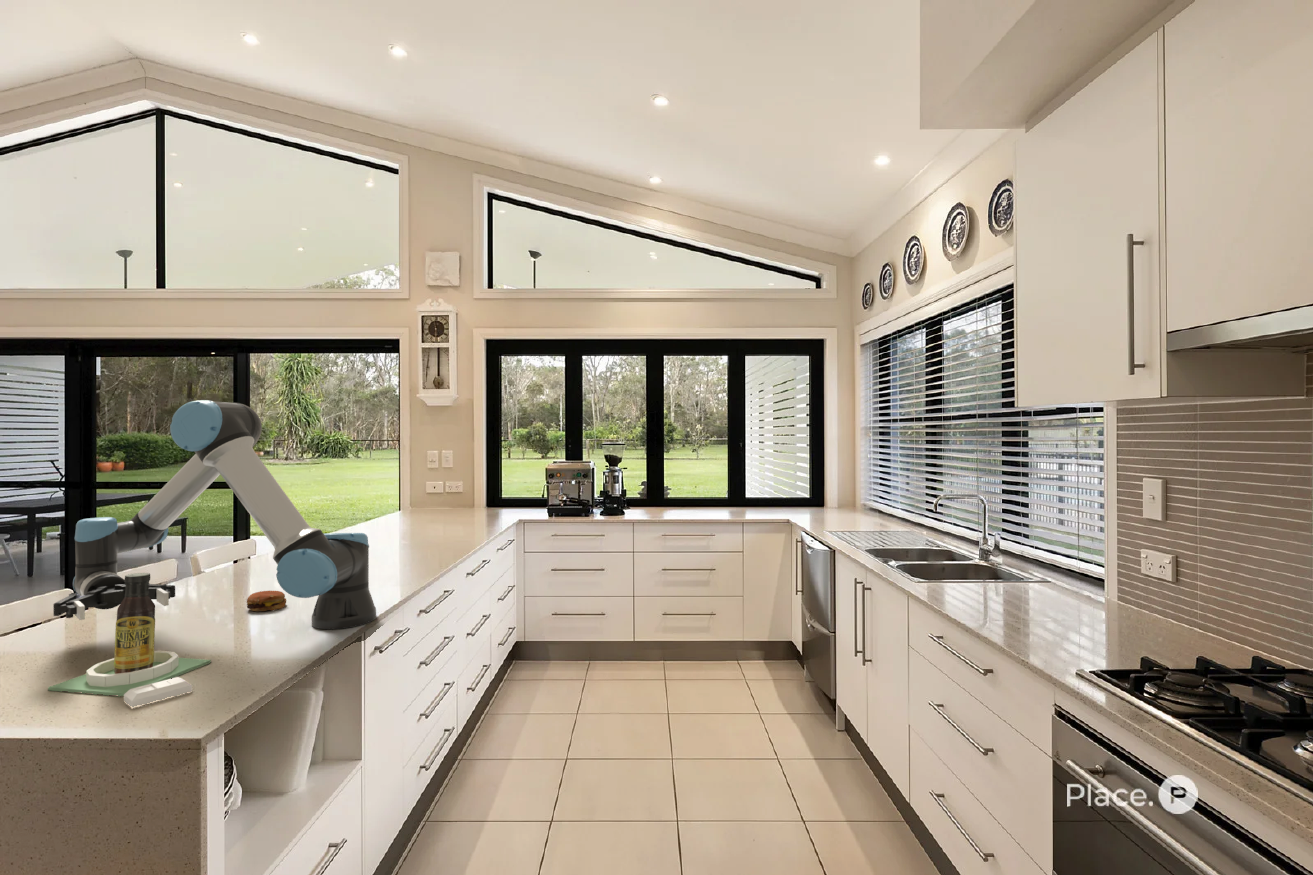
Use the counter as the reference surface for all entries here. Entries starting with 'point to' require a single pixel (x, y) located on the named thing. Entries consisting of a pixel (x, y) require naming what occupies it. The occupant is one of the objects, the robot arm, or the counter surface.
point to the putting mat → (122, 689)
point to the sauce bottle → (135, 626)
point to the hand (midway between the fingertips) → (126, 606)
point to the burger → (266, 601)
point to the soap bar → (157, 691)
